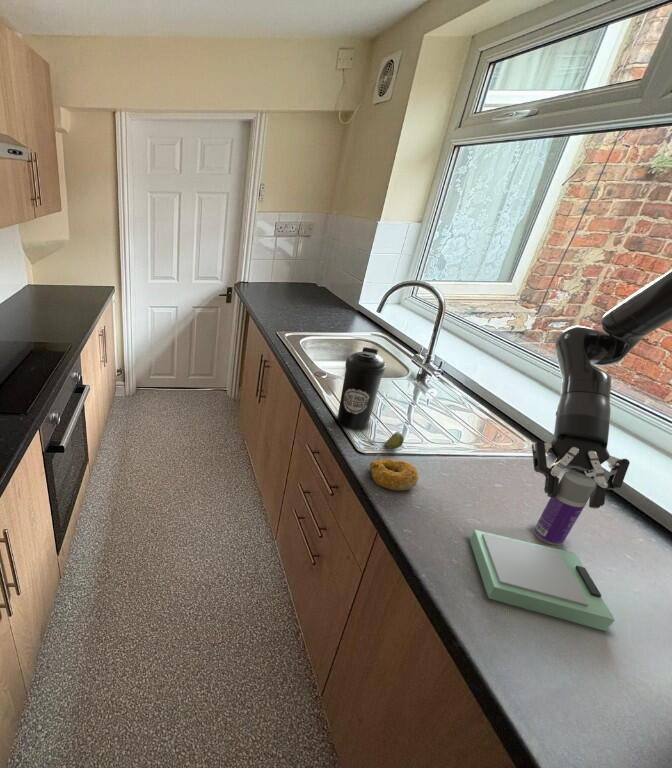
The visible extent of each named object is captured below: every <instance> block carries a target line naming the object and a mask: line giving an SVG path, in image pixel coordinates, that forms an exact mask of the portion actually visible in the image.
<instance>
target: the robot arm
mask: <svg viewBox="0 0 672 768" xmlns="http://www.w3.org/2000/svg"><path fill="white" fill-rule="evenodd" d="M671 321H672V269H670V270H668V271H667V272H666V273H665V274H663V275H662V276H660V277H658V278H656V279H655V280H654V281H651V282H650V283H648V284H647V285H645V286H644V287H642V288H641V289H638V290H637V291H635V292H634V293H633V294H630V296H628V297H627V298H625V299H624V300H623V301H621V302H620V303H619V304H618V303H617V305H615V306H614V307H613V308H611V309H609V310H608V311H607V312H605V314H603V316H602V317H601V319H600V325H601V328H602V330H601V329H596V328H592V327H589V326H585V325H583V326H582V325H573V326H570V327H567V328H566V329H563V331H562V332H561V333H560V334H559V335H558V337H557V338H556V341H555V346H554V352H555V356H556V360H557V364H558V368H559V372H560V375H561V379H562V380H561V390H560V396H559V401H558V403H557V407H556V411H555V422H554V423H555V424H554V430H553V440H552V441H551V442H544V441H543V440H537V441H535V442H533V443H532V444H531V451H532V453H531V454H532V463H533V471H534V472H536V473H539V474H542V475H543V476H544V477H545V481H544V489H543V491H544V493H545V494H547V497H548V498H551V497H552V498H554V497H556V496H557V492H558V484H559V482H560V477H558V476H559V475H560V474H561V473H562V472H563V470H565V468H568V469H576V470H578V471H580V472H581V471H582V472H584V475H586V476H588V477H590V478H591V479H593V480H594V481H595V482H596V486H595V488H594V490H593V492H592V493H591V495H590V497H589V499H588V507H589V508H590V509H600V508H601V507H603V506H604V505H605V504H606V501H605V500H606V493H607V492H606V491H607V490H614V489H615V490H616V489H619V488H621V487H622V485H623V483H624V480H625V478H626V476H627V475H626V474H627V472H628V469H629V466H630V464H631V462H630V460H629V459H628V458H618V457H616V456H612V455H610V453H609V451H608V443H609V434H610V424H611V423H610V422H611V391H612V378H611V377H612V376H611V375H610V374H609V373H608V372H606V371H604V370H602V369H600V368H598V367H608V366H612V365H615V364H618V363H619V362H621V361H622V360H624V359H625V358H626V356H627V355H628V354H629V353H630V352H631V351H632V349H633V348H634V347H636V345H638V343H640V341H641V340H643V339H644V338H645V337H646V336H648V335H649V334H651V333H653V332H654V331H656V330H658V329H660V328H661V327H664V325H666V324H668V323H670V322H671ZM549 449H550V451H551V453H552V454H553V455H554V456H555V458H556V459H555V460H554V461H553V463H551V465H550V467H548V463H547V453H549ZM605 462H607V464H608V468H609V469H610V470H609V474H608V476H607V479H606V477H605V471H604V469H603V467H602V464H604V463H605Z"/></svg>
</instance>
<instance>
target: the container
mask: <svg viewBox="0 0 672 768" xmlns="http://www.w3.org/2000/svg"><path fill="white" fill-rule="evenodd" d="M595 486H596V482H595V481H594V480H593V479H591V478H590V477H588V476H586V474H585V473H581V472H577V471H569V470H568V471H566V472H564V474H562V476H561V479H559V484H558V492H557V496H556V497H554V498H552V497H549V500H548V501H547V503H546V506H545V507H544V509H543V511H542V513H541V515H540V517H539V519H538V520H537V522H536V524H535V526H534V528H533V534H534V535H535V536H536V537H537V538H538V539H539V540H540V541H543V542H544V543H546V544H549V545H552V546H561V545H563V544H564V542H565V541H566V538H567V537H568V535H569V533H570V532H571V530H572V529H573V527H574V525H575V523H576V522H577V520H578V519H579V517H580V515H581V513H582V511H583V510H584V508H585V506H586V505H587V503H588V502H589V500H590V495H591V493H592V492H593V490H594V488H595Z"/></svg>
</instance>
